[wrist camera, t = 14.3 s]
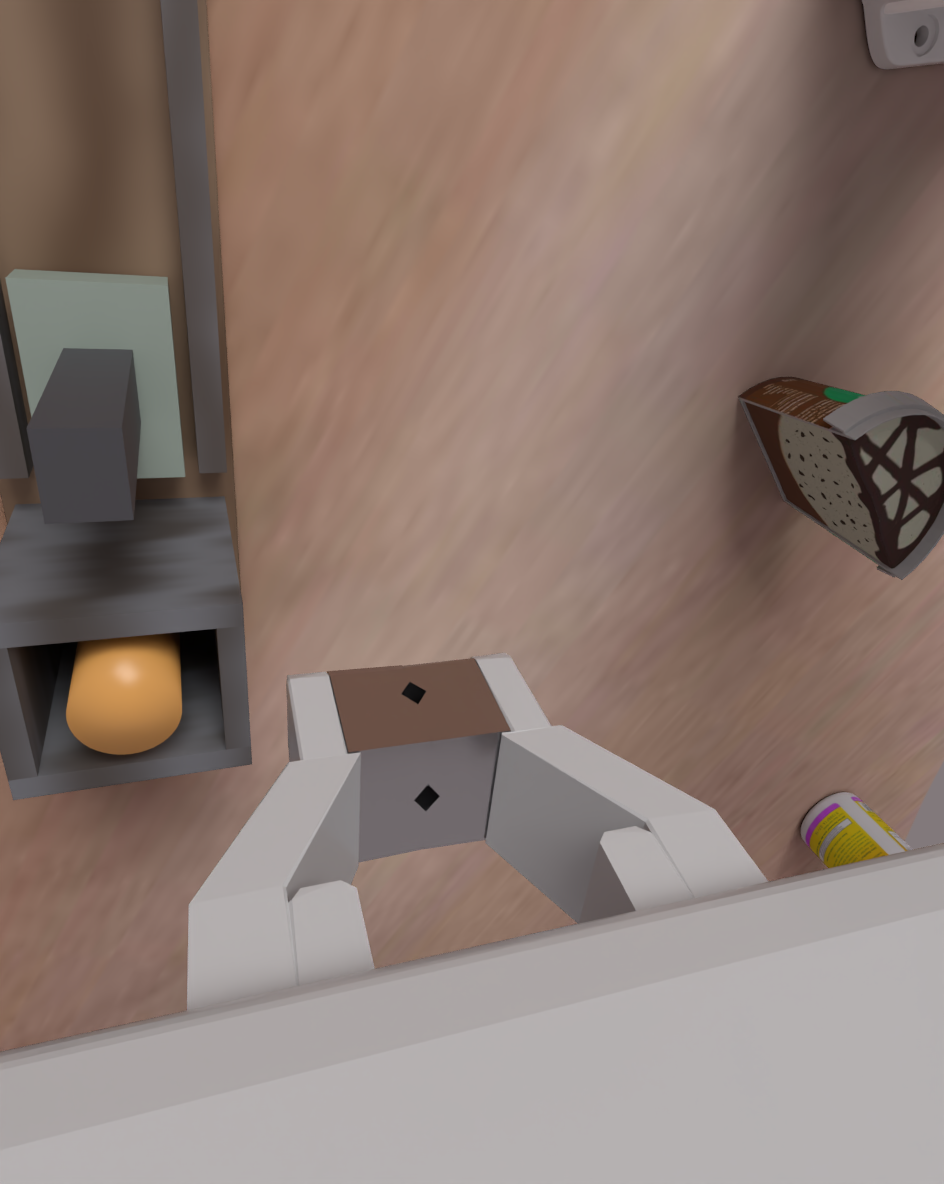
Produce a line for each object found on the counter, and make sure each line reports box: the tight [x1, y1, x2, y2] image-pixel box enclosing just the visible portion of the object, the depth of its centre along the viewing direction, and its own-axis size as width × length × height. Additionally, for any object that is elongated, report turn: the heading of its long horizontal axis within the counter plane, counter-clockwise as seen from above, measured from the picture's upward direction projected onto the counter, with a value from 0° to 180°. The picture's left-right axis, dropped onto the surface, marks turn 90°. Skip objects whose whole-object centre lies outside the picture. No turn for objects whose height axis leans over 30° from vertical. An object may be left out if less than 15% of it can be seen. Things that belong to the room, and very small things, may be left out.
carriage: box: [5, 269, 185, 524], centre depth 28 cm, size 6×8×12 cm
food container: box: [738, 377, 944, 580], centre depth 45 cm, size 12×6×10 cm, turn 35°
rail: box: [0, 0, 252, 800], centre depth 28 cm, size 10×32×12 cm, turn 175°
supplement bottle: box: [801, 792, 913, 868], centre depth 69 cm, size 7×7×13 cm
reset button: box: [66, 632, 182, 755], centre depth 31 cm, size 4×4×6 cm
